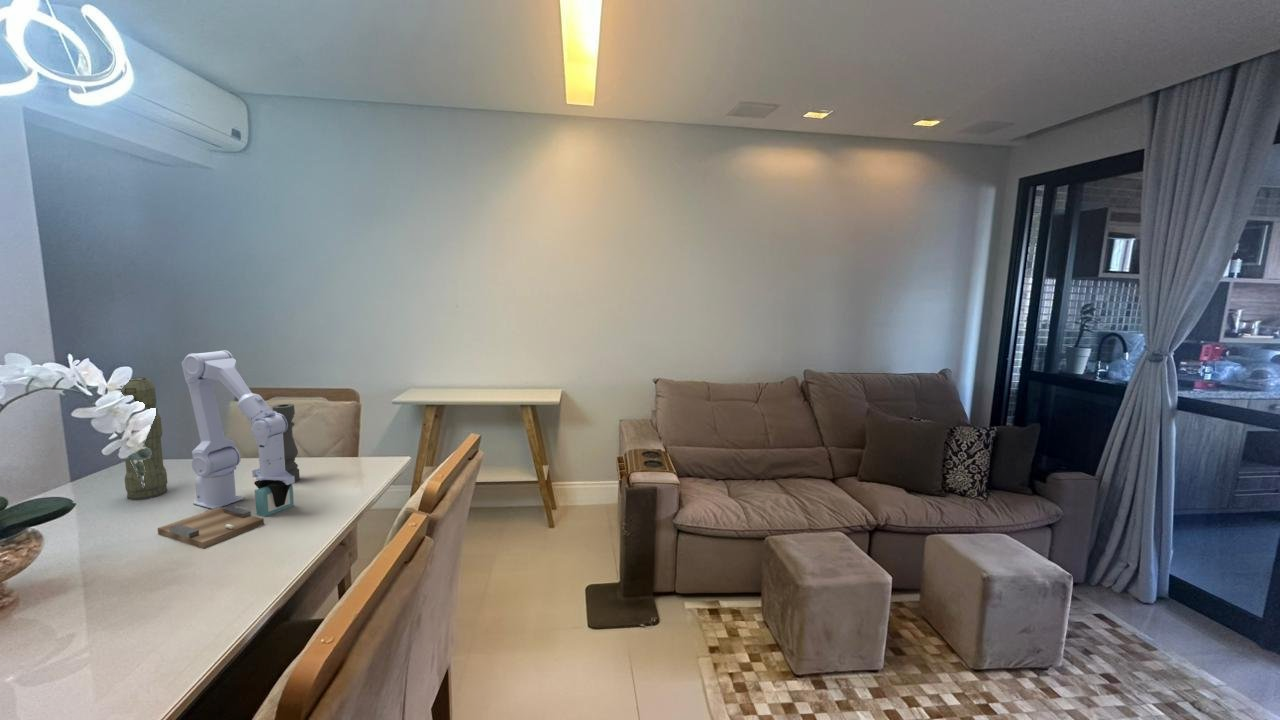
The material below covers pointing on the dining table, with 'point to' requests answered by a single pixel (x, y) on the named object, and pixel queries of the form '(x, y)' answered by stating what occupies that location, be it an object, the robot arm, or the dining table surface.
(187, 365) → the robot arm
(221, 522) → the wooden board
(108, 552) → the dining table surface
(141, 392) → the olive green tall column
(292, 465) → the candle holder
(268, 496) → the teal block
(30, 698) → the dining table surface
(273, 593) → the dining table surface
